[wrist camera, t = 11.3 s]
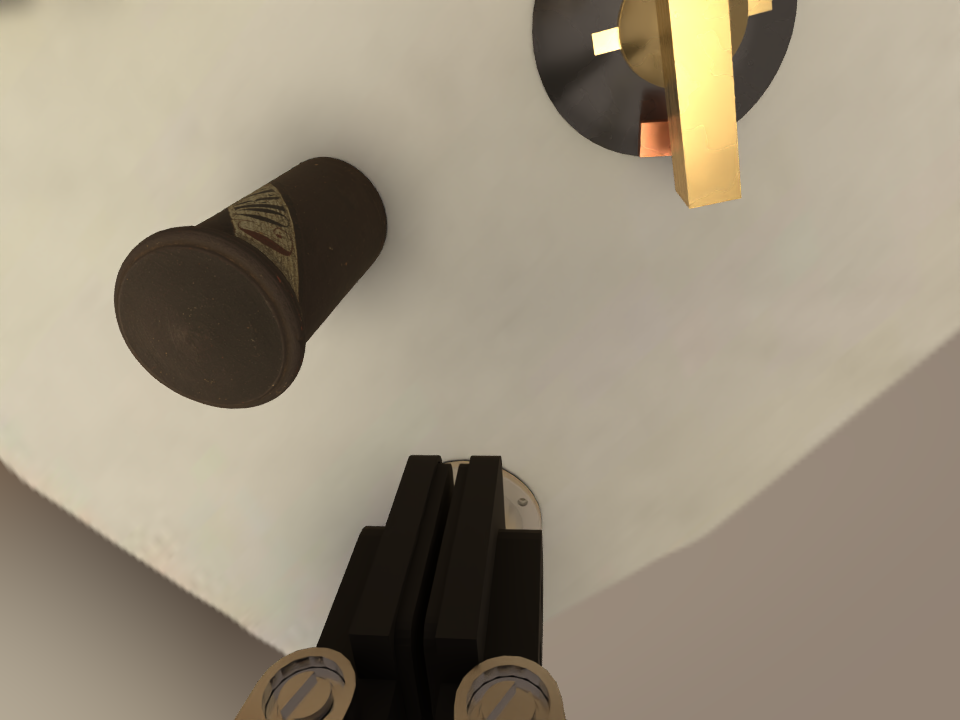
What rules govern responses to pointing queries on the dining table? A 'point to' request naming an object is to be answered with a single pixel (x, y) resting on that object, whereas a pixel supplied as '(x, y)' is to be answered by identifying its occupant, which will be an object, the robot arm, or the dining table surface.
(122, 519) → the dining table surface
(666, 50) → the gold bar handle
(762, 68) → the post base
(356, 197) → the container
